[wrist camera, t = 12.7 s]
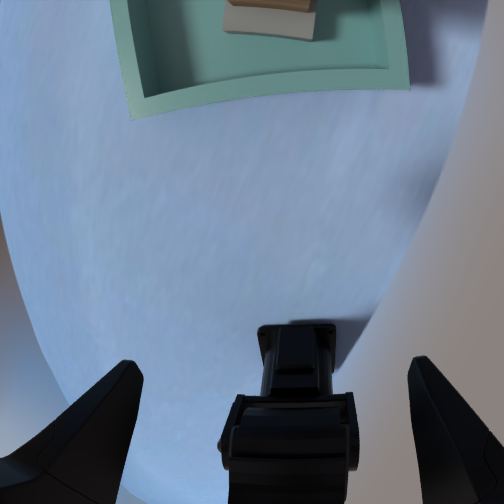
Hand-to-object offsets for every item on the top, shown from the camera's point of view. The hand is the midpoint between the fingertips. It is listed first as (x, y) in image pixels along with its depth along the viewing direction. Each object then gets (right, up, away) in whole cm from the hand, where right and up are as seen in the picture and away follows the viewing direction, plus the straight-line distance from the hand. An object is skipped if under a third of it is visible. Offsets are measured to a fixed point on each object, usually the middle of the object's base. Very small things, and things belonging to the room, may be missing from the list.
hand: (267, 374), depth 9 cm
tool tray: (0, +19, +4) cm, 19 cm away
